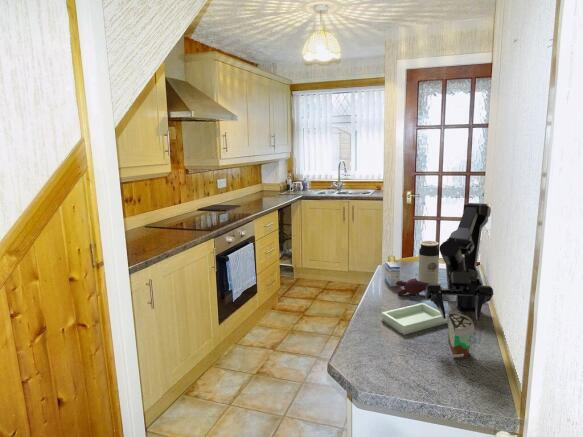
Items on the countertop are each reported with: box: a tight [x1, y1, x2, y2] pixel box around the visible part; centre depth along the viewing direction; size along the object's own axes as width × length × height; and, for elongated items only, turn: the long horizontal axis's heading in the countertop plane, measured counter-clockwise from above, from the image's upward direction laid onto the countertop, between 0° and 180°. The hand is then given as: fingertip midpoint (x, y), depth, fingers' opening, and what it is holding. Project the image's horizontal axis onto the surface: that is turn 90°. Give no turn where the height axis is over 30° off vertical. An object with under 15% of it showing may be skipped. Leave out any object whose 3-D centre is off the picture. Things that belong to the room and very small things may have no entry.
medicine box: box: [384, 261, 401, 287], centre depth 182 cm, size 8×4×9 cm, turn 5°
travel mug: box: [418, 240, 440, 284], centre depth 179 cm, size 8×8×18 cm
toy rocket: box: [396, 277, 430, 296], centre depth 168 cm, size 7×7×15 cm
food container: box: [447, 311, 475, 360], centre depth 123 cm, size 12×6×10 cm, turn 168°
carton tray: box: [381, 302, 448, 335], centre depth 144 cm, size 18×12×3 cm, turn 114°
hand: (461, 319), depth 124 cm, fingers open, 9 cm apart
